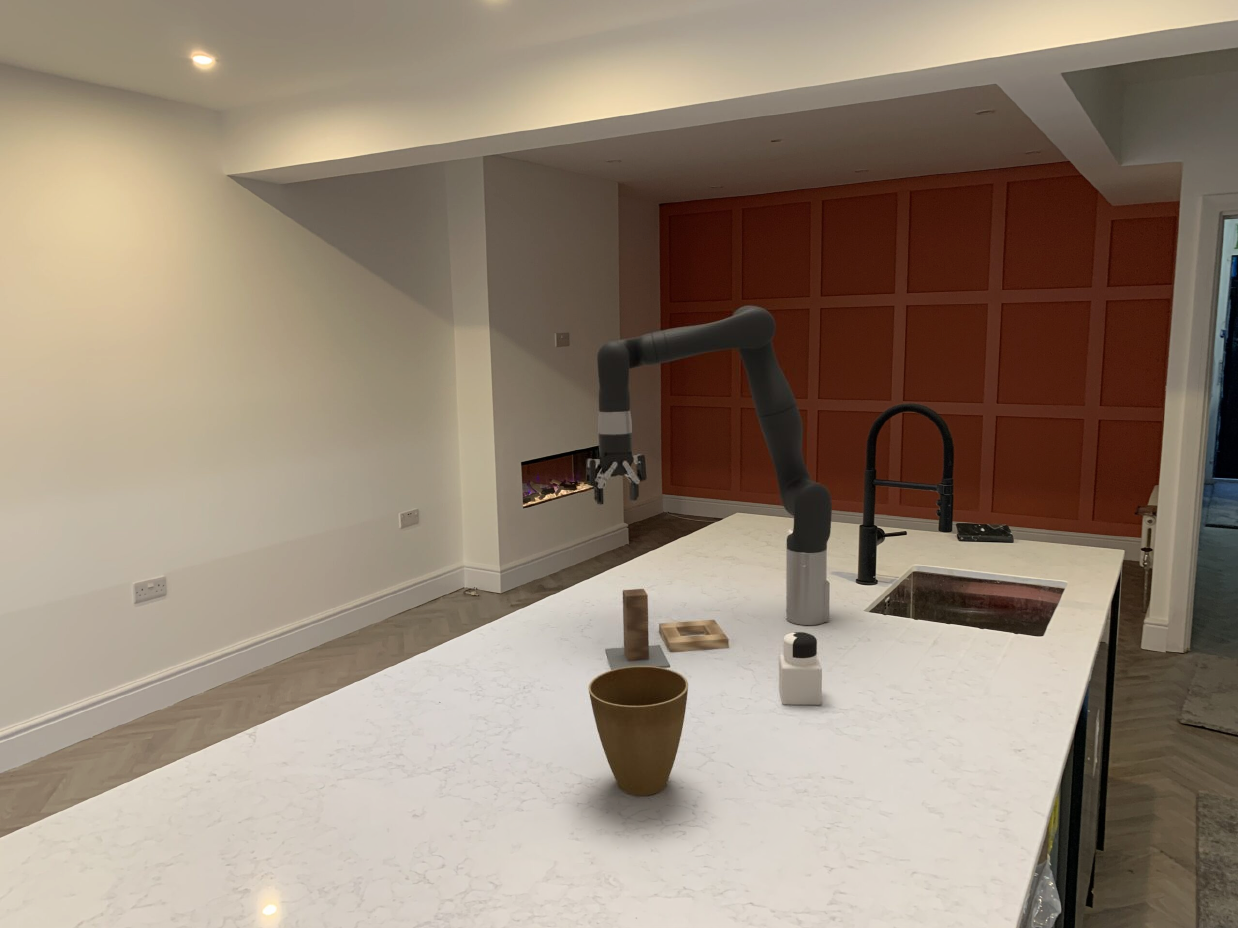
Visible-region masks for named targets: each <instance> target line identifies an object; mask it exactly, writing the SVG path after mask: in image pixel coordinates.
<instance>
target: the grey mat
mask: <svg viewBox="0 0 1238 928" xmlns="http://www.w3.org/2000/svg"><path fill="white" fill-rule="evenodd" d="M604 651H605V654H606V657H607V659H608V663H609V667H610V670H614V669H618V668H623V667H631V666H654V667H661V668H666V669H667V668H671V665H670V662H669V660H668V658H667V656H666V655H665V652H664V650H663V649H662V647H661V645H660V644H657V645H655V644H654V645H649V660H639V661H627V659H626V656H625V654H624V647H613V648H610V647H609V648H605V650H604Z"/></svg>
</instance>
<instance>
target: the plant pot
mask: <svg viewBox="0 0 1238 928" xmlns="http://www.w3.org/2000/svg"><path fill="white" fill-rule="evenodd" d="M688 691H689V681H688V679H687V678H686V677H685V676H684V674H683V675H682V674H681V673H679V672H678V671H675V670H674V669H669V668H667V667H666V668H661V667H654V666H631V667H623V668H618V669H614V670H611V669H610V670H608V671H605V672H603V673H601V674H599V675H597V676H596V677H594V678H593V679H592V680H591V681H590V683H589V684H588V693H589V694H588V695H589V698H590V704H591V708H592V709H591V710H592V713H593V718H594V721H595V726H596V728H597V729H596V730H597V732H598V737H599V740H600V742H601V746H602V749H603V753H604V754H605V757H606V760H607V762H608V765H609V768H610V770H611V773H612V775H613V777H614V779H615V781H616V784H617V786H618V788H619V789H620V790H621V791H622V792H623V793H626V794H628V795H631V796H635V797H636V796H639V797H641V796H642V797H646V796H651V795H655V794H658V793H659V792H662V791H663V790H664V789H665V788H666V787H667V784H668V781H669V779H670V776H671V773H672V770H673V767H674V764H675V760H676V757H677V754H678V749H679V746H680V741H681V738H682V732H683V727H684V721H685V715H686V708H687V702H688V701H687V700H688V693H689V692H688Z"/></svg>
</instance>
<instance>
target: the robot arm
mask: <svg viewBox="0 0 1238 928" xmlns="http://www.w3.org/2000/svg"><path fill="white" fill-rule="evenodd" d="M776 325H777V324H776V321H775V319H774V316H773V315H772V314H771V313H770V312H769V311H768V310H767V309H765V308H763V307H760V306H756V305H744V306H741V307H739V308H738V309H736V310H735V311H734V313H732V316H730V317H726V318H724V319H721V320H717V321H714V322H713V321H712V322H709V323H703V324H697V325H688V326H680V327H679V326H678V327H673V328H667V329H663V330H657V331H654V332H653V331H652V332H649V333H645V334H641V335H640V336H636V337H630V338H629V337H628V338H624V339H623V338H622V339H619V340H612V341H608V342H605V343H604V344H603V345H602V346H601V347H600V348H599V350H598V352H597V359H596V360H597V361H596V362H597V363H596V364H597V371H598V372H597V374H598V385H599V389H598V419H597V420H598V422H597V424H598V425H597V431H598V451H599V452H598V453H599V457H598V459H597V458H596V459H595V458H594V459H593V458H589V457H588V458H587V459H586V461H585V484H586V485H588V486H590V487H593V489H594V490H593V491H594V492H593V493H594V494H593V496H594V497H593V498H594V502H596V504H597V505H604V502H605V501H604V488H603V486H604V485H605V483H606V481H608V480H609V479H610V477H618V476H625V477H626V478H627V479H628V480H629V482H630V483H629V499H630V501H633V502H634V501H637V500H638V498H639V491H640V489H639V487H640V486H639V485H640V484H641V482H643V481H647V467H646V456H645V455H644V454H641V453H636V454H634V455H633V453H632V452H633V430H632V429H633V426H632V425H633V424H632V423H633V422H632V415H631V395H630V394H631V393H630V388H629V383H630V381H629V380H630V378H629V377H630V369H635V368H638V367H642V366H654V365H660V364H663V363H669V362H673V361H677V360H681V359H685V358H689V357H694V356H697V355H701V354H705V353H706V354H707V353H711V352H716V351H723V350H724V351H725V350H735V349H736V350H737V351H738V352H739V356H740V358H741V360H742V363H743V366H744V368H745V372H746V376H747V379H748V385H749V388H750V394H751V397H752V398H751V399H752V401H753V405H754V409H755V412H756V416H757V419H758V423H759V426H760V429H761V432H762V434H763V437H764V440H765V443H766V446H767V450H768V452H769V455H770V458H771V460H772V464H773V467H774V470H775V471H774V472H775V475H776V480H777V485H778V490H779V495H780V499H781V503H782V507H783V508H784V509H785V511H786V512H787V513H788V514H790V515H791V516H793V527H792V528H793V531H792V533H790V534H788V535H787V537H786V547H785V548H786V556H785V557H786V558H785V559H786V561H785V562H786V563H785V564H786V568H785V569H786V570H785V571H786V572H785V574H786V575H785V576H786V577H785V580H786V584H785V585H786V588H785V589H786V591H785V593H786V594H785V595H786V598H785V599H786V600H785V603H786V604H785V606H786V609H785V610H786V611H785V612H786V613H785V614H786V615H785V616H786V620H787V621H788V622H790V623H792V624H796V625H800V626H815V625H820V624H823V623H828V622H830V600H831V599H830V595H831V594H830V592H831V591H830V588H831V587H830V582H829V581H828V580H827V578H828V577H827V575H828V574H827V573H828V570H827V567H828V565H827V564H828V562H827V561H828V560H827V558H828V557H827V555H828V551H827V550H828V541H829V540H830V537H831V529H832V528H831V527H832V514H833V513H832V511H833V508H832V507H833V504H832V502H833V501H832V497H831V494H830V491H829V489H828V488H827V487H826V486H825V485H823V484H821V483H819V482H816V481H813V480H812V479H811V476H810V474H809V472H808V469H807V466H806V463H805V460H804V457H803V433H804V431H803V422H802V418H801V417H802V416H801V413H800V411H799V407H798V404H797V401H796V398H795V395H794V393H793V391H792V388H791V386H790V384H789V382H788V380H787V379H786V376H785V374H784V372H783V371H782V369H781V367H780V365H779V362H778V360H777V356H776V353H775V349H774V345H773V341H772V339H773V338H774V336H775V332H776V329H777V328H776V327H777V326H776ZM633 463H634V464H635V469H636V472H635V471H634V470H633V468H632V467H631V466H632V464H633ZM598 466H600V469H599V471H598V473H597V474H596V469H597V468H598Z"/></svg>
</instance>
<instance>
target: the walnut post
mask: <svg viewBox="0 0 1238 928" xmlns="http://www.w3.org/2000/svg"><path fill="white" fill-rule="evenodd" d="M648 598H649V595H648V593H647V592H646V589H644V588H636V589H635V588H634V589H622V619H623V648H624V654H625V656H626V659H627V661H639V660H649V646H650V644H649V640H650V639H649V637H650V636H649V602H648V601H649V599H648Z"/></svg>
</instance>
